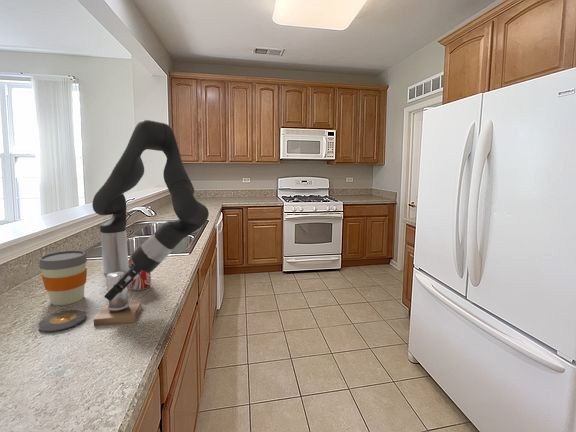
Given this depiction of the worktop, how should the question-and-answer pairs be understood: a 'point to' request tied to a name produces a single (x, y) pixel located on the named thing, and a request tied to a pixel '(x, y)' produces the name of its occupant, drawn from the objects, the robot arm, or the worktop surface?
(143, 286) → the soda can
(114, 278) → the clear tapered piece
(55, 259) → the reusable coffee cup
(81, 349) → the worktop surface
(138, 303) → the stand
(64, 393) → the worktop surface
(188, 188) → the robot arm
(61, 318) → the round grey coaster
